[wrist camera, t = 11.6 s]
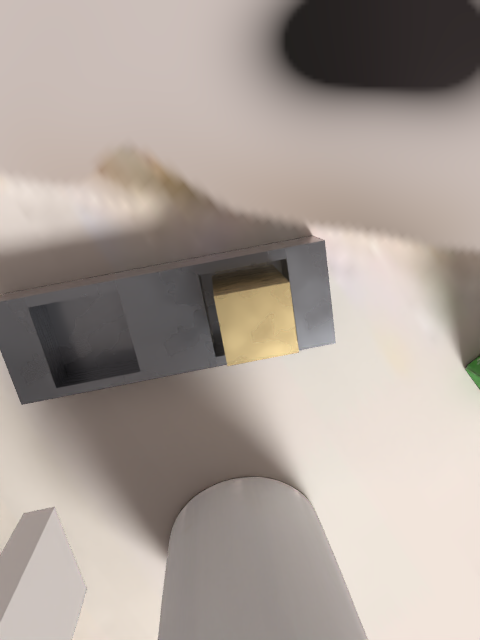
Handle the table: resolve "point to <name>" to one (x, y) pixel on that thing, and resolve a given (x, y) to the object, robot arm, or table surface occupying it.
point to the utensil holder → (254, 569)
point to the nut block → (255, 314)
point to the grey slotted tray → (147, 320)
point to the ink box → (474, 371)
